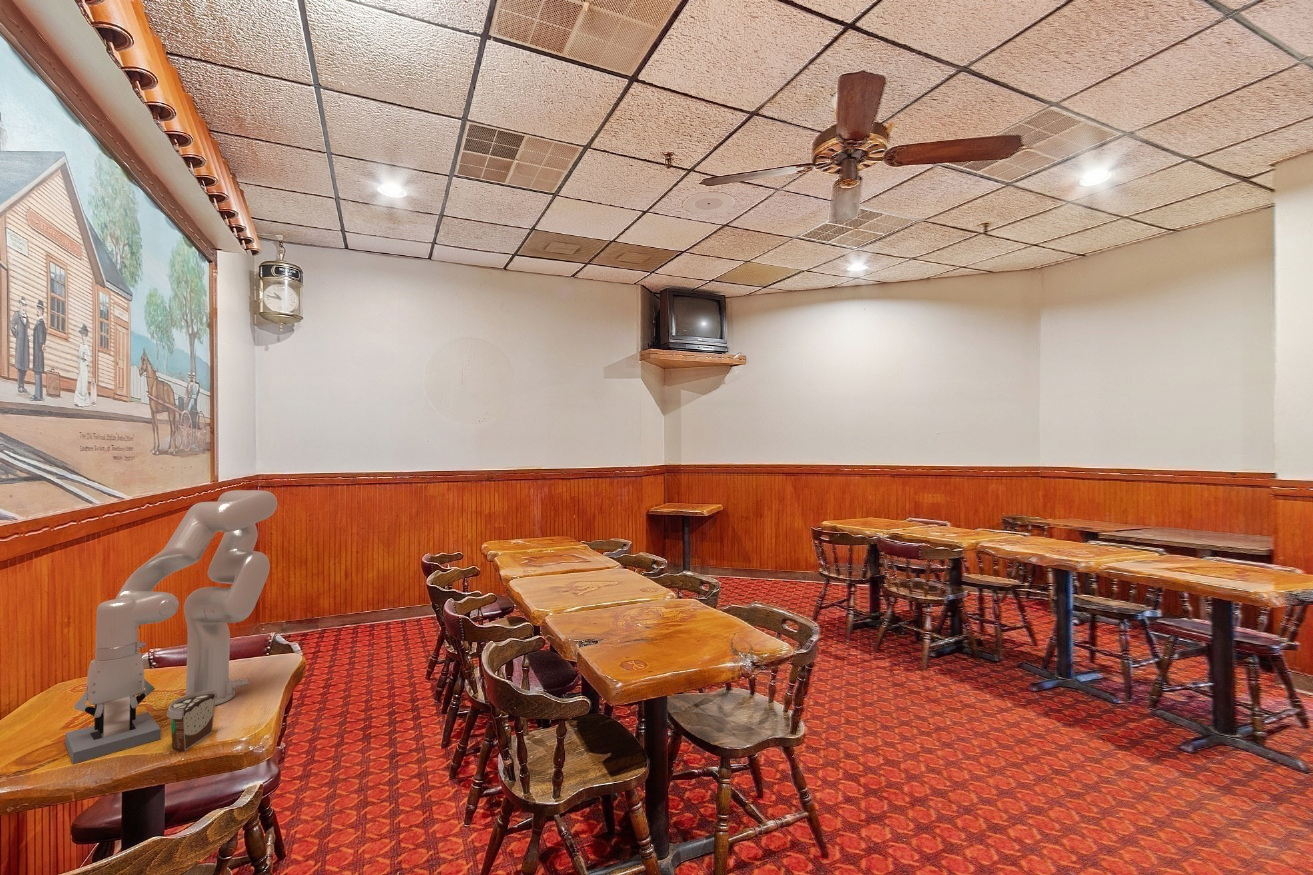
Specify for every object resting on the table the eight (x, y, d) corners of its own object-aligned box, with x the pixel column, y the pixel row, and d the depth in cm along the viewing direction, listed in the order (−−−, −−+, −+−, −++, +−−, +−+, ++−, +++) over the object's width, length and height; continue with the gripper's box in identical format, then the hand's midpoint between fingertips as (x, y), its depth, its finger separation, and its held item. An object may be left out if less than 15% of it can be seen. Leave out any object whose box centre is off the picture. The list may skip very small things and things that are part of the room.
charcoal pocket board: (147, 721, 150) (147, 711, 150) (160, 739, 140) (160, 728, 140) (65, 743, 138) (65, 732, 139) (73, 763, 129) (73, 752, 129)
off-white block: (125, 732, 143) (126, 691, 143) (129, 738, 140) (130, 696, 140) (100, 739, 140) (101, 697, 140) (103, 745, 137) (104, 702, 137)
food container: (190, 730, 145) (191, 690, 145) (216, 729, 145) (217, 689, 146) (151, 755, 133) (153, 711, 133) (180, 754, 133) (181, 709, 133)
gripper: (158, 639, 149) (157, 711, 149) (65, 657, 136) (63, 736, 136) (165, 645, 145) (163, 719, 144) (69, 664, 132) (67, 746, 131)
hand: (115, 726), depth 140 cm, fingers closed on off-white block, 4 cm apart
